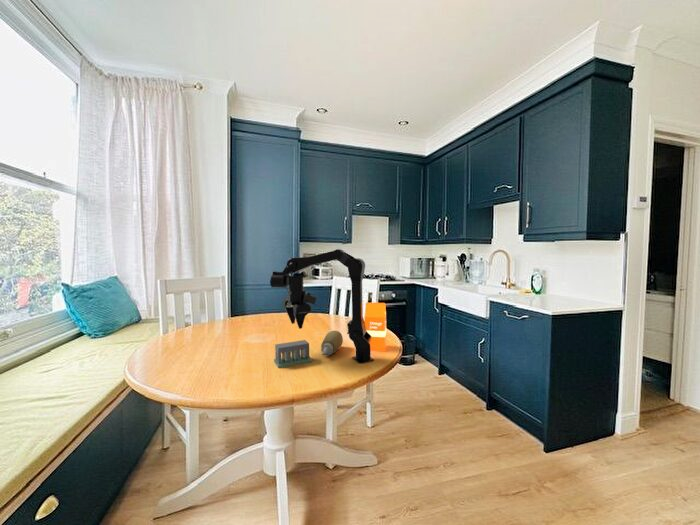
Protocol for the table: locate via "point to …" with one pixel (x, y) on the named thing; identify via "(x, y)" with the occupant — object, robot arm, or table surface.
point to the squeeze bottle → (331, 342)
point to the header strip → (292, 360)
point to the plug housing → (290, 347)
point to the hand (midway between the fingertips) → (296, 325)
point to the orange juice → (376, 325)
